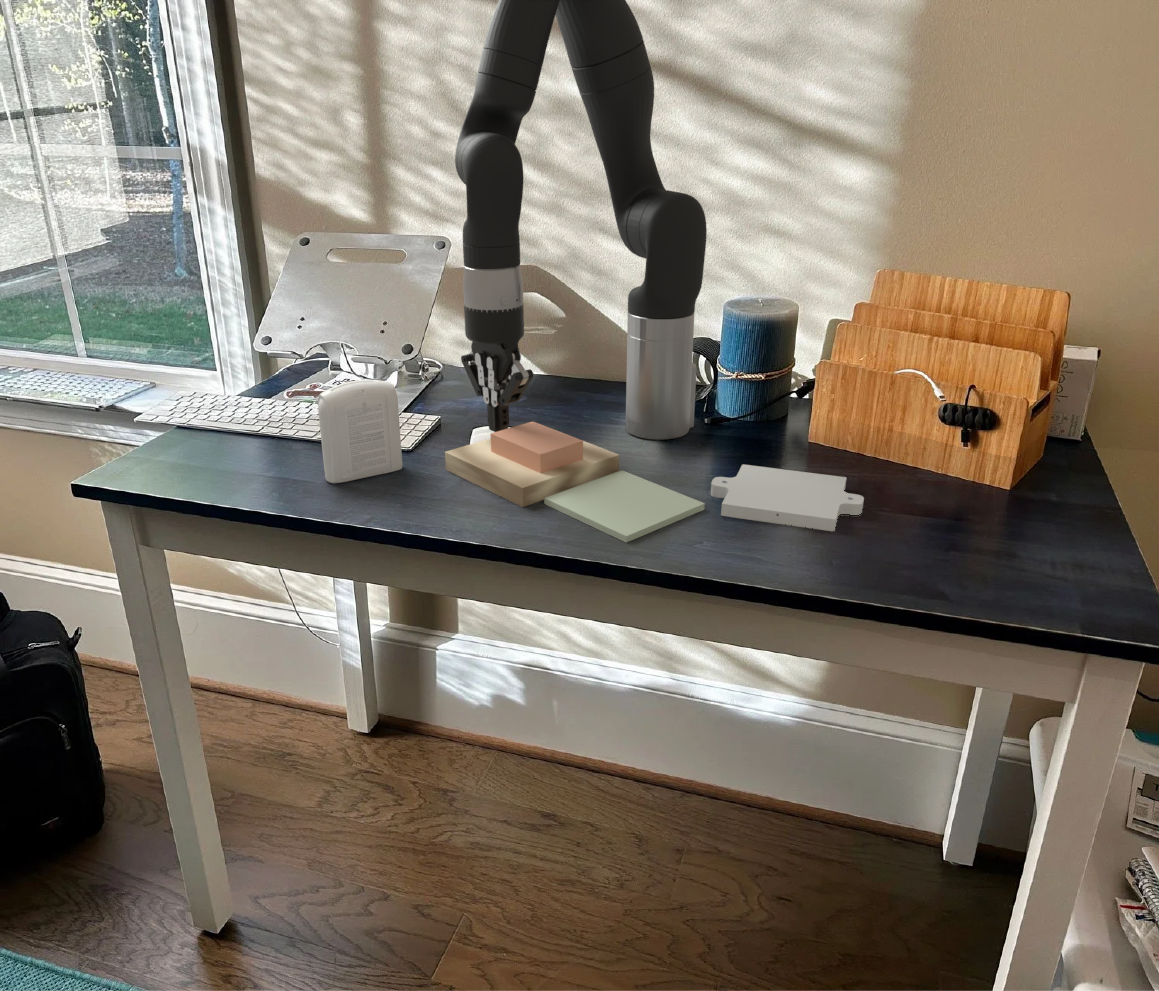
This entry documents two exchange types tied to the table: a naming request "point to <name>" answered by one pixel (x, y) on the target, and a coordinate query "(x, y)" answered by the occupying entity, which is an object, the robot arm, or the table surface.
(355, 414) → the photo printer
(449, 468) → the block
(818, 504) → the mounting plate
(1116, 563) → the table surface
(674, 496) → the mat
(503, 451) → the tile
